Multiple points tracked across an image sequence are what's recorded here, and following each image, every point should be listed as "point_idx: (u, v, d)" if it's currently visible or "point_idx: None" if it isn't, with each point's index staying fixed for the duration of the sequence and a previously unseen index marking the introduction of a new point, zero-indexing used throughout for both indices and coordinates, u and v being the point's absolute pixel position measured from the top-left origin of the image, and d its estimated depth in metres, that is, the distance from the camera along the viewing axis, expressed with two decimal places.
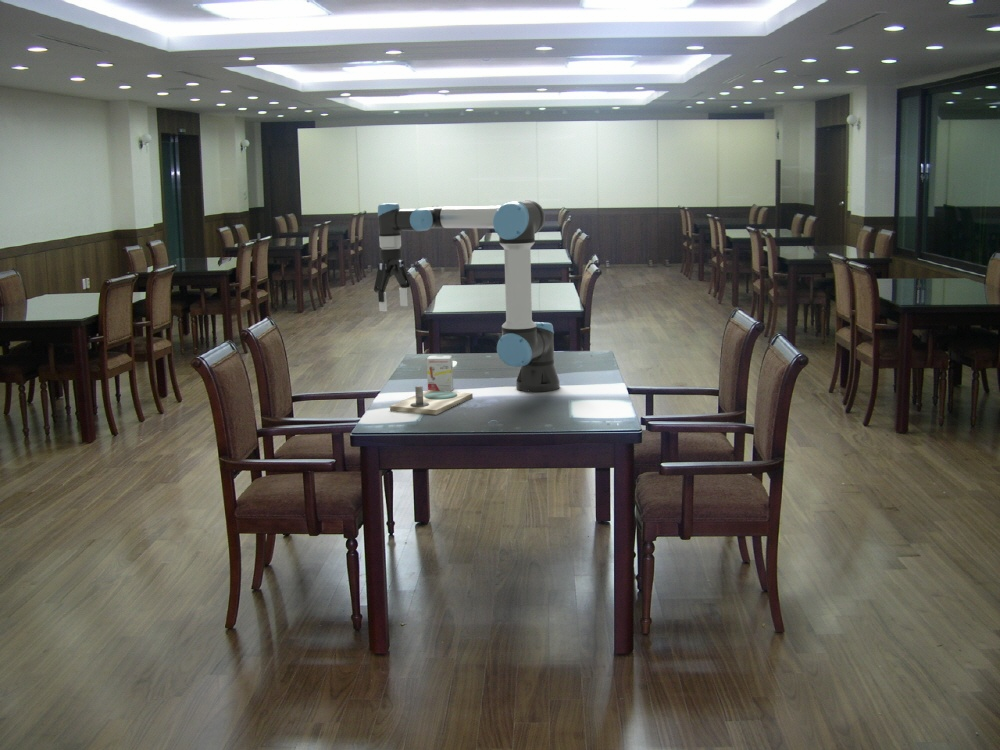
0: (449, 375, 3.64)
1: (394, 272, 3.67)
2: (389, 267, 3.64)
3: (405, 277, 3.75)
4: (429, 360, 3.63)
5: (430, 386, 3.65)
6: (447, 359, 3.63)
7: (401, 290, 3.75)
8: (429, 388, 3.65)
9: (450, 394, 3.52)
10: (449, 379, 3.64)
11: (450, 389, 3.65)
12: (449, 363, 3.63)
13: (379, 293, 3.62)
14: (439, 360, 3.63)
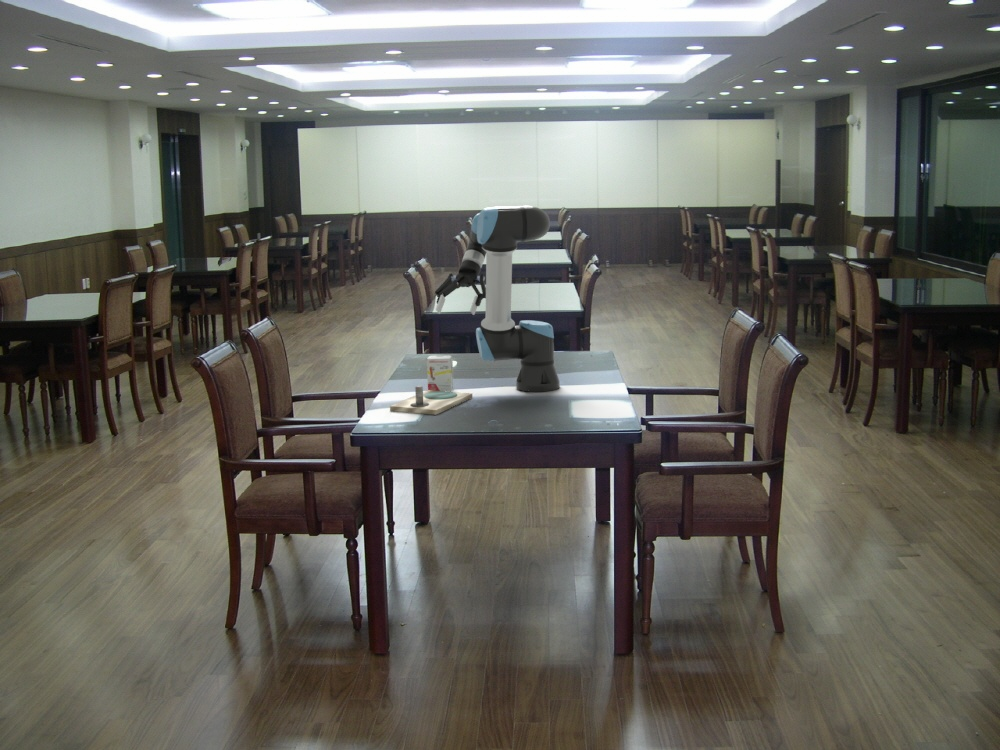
0: (449, 375, 3.64)
1: (463, 281, 3.79)
2: (458, 277, 3.81)
3: (481, 288, 3.75)
4: (429, 360, 3.63)
5: (430, 386, 3.65)
6: (447, 359, 3.63)
7: None
8: (429, 388, 3.65)
9: (450, 394, 3.52)
10: (449, 379, 3.64)
11: (450, 389, 3.65)
12: (449, 363, 3.63)
13: None
14: (439, 360, 3.63)
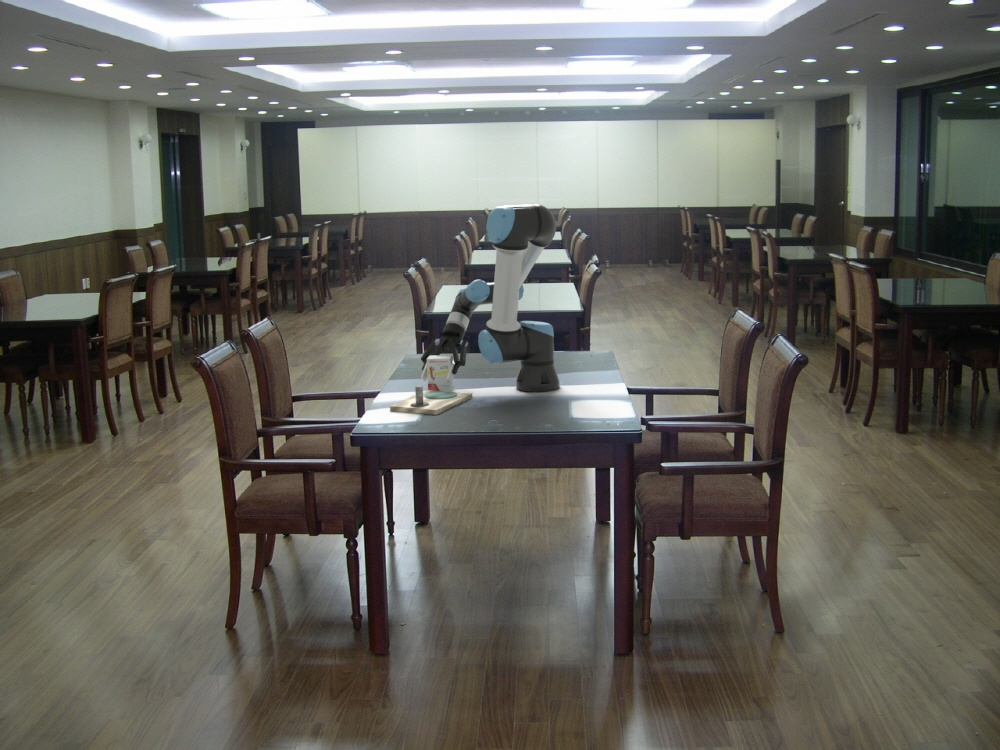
0: None
1: (447, 345, 3.70)
2: (441, 340, 3.72)
3: None
4: (429, 360, 3.63)
5: (430, 386, 3.65)
6: (447, 359, 3.63)
7: None
8: (429, 388, 3.65)
9: (450, 394, 3.52)
10: None
11: (450, 389, 3.65)
12: (449, 363, 3.63)
13: None
14: (439, 360, 3.63)
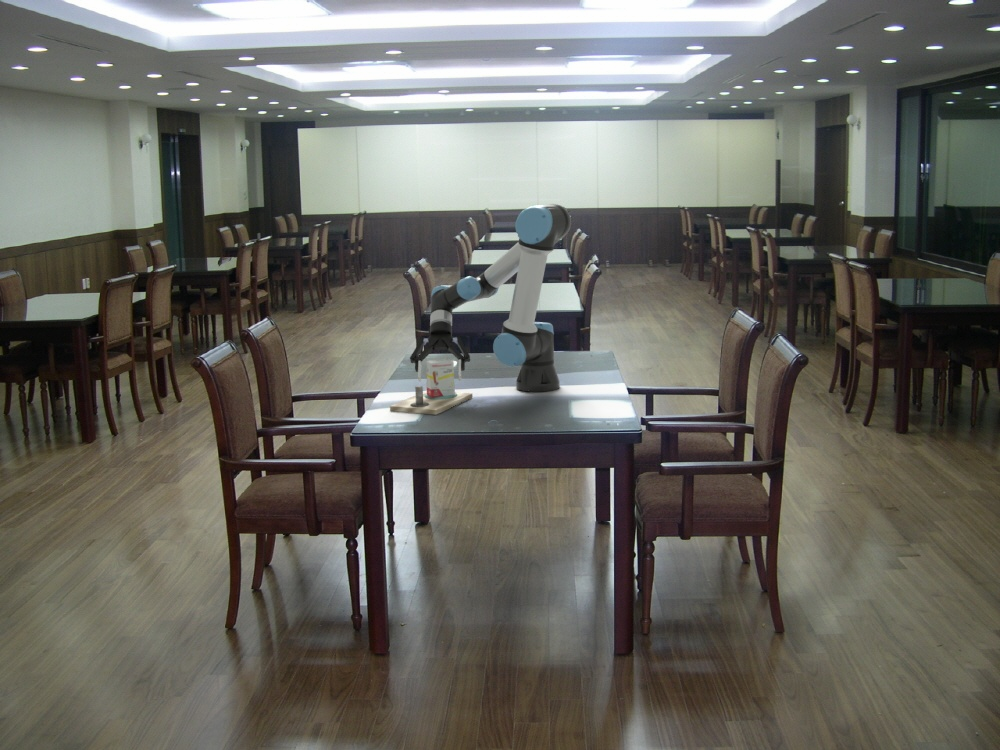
0: (452, 378, 3.49)
1: (440, 345, 3.54)
2: (431, 340, 3.55)
3: (462, 351, 3.53)
4: (432, 364, 3.46)
5: (433, 392, 3.48)
6: (450, 362, 3.48)
7: None
8: (432, 394, 3.48)
9: None
10: (452, 383, 3.50)
11: (453, 393, 3.50)
12: (452, 366, 3.49)
13: (415, 363, 3.52)
14: (442, 364, 3.47)
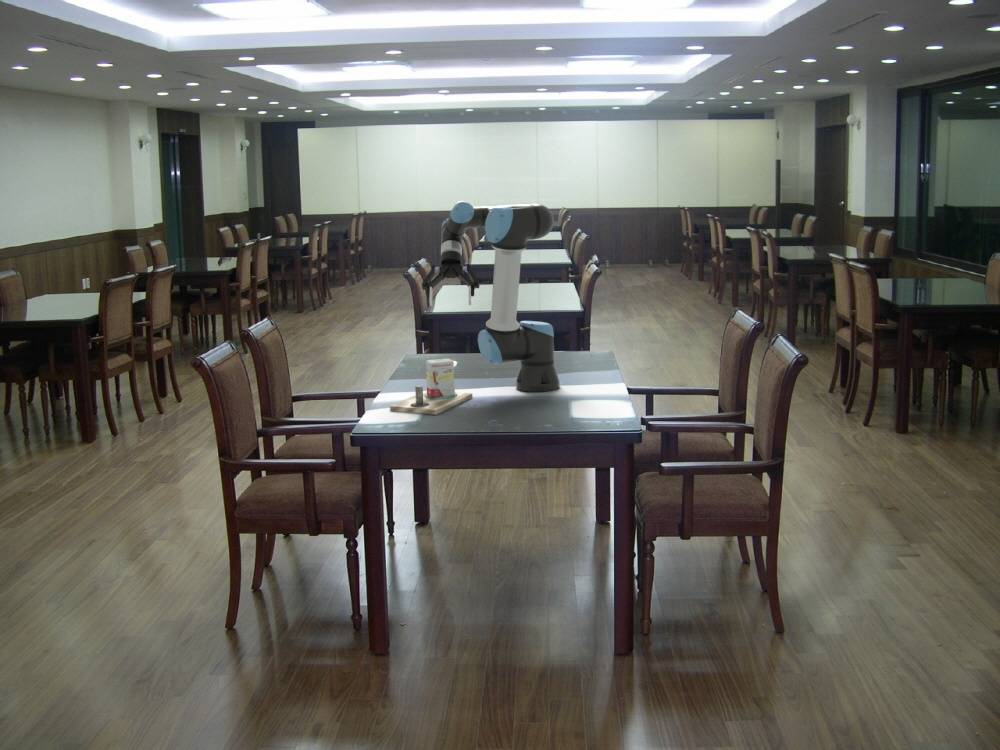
0: (452, 378, 3.49)
1: (450, 272, 3.72)
2: (442, 268, 3.73)
3: (472, 278, 3.71)
4: (432, 364, 3.46)
5: (433, 392, 3.48)
6: (450, 362, 3.48)
7: None
8: (432, 394, 3.48)
9: None
10: (452, 383, 3.50)
11: (453, 393, 3.50)
12: (452, 366, 3.49)
13: (426, 289, 3.70)
14: (442, 364, 3.47)
